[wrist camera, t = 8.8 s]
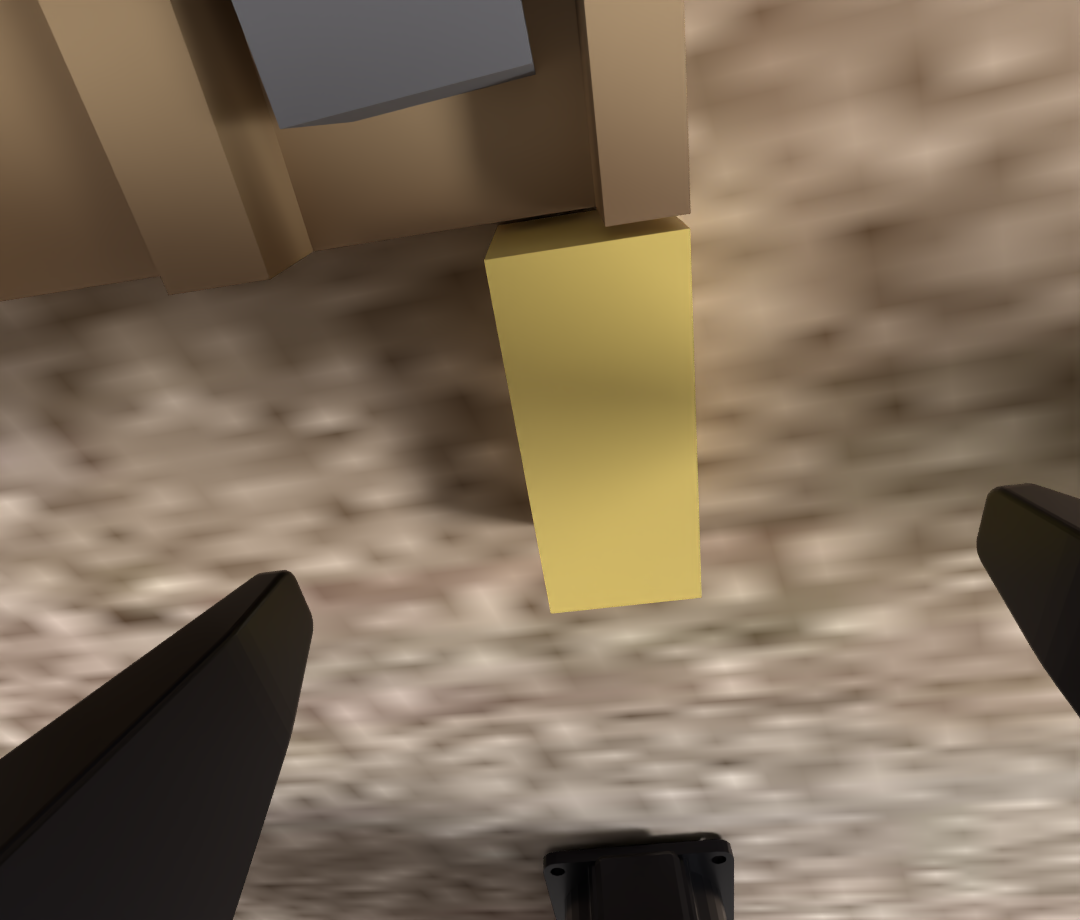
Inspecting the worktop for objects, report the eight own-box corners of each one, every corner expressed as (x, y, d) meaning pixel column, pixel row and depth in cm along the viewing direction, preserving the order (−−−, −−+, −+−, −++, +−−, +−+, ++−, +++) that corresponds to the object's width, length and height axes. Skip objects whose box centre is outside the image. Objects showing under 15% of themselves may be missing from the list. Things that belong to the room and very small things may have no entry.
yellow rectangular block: (673, 507, 15) (701, 597, 12) (550, 521, 15) (550, 613, 13) (655, 198, 12) (689, 228, 9) (498, 223, 12) (483, 260, 9)
